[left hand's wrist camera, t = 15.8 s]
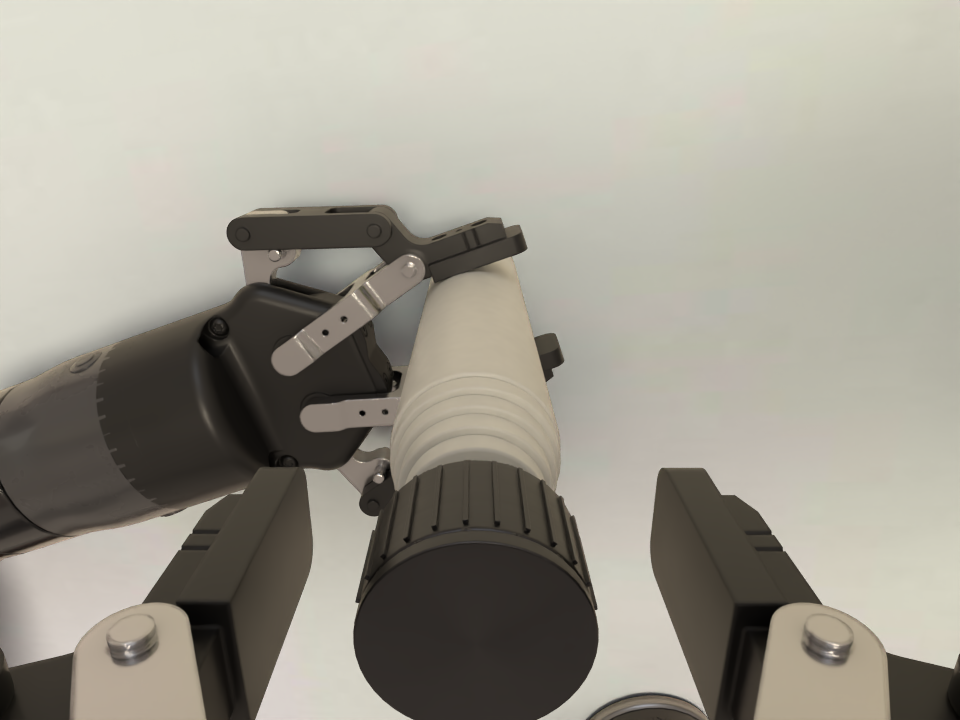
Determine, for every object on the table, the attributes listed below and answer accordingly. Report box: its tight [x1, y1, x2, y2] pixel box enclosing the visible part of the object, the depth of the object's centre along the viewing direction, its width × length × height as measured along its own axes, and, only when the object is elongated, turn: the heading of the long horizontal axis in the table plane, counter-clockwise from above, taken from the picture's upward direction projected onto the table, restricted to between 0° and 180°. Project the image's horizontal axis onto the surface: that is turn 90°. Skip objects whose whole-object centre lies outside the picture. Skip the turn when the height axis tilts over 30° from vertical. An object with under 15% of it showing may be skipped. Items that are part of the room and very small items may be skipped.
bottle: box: [390, 257, 561, 492], centre depth 21 cm, size 4×4×24 cm
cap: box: [353, 460, 598, 720], centre depth 11 cm, size 4×4×2 cm
